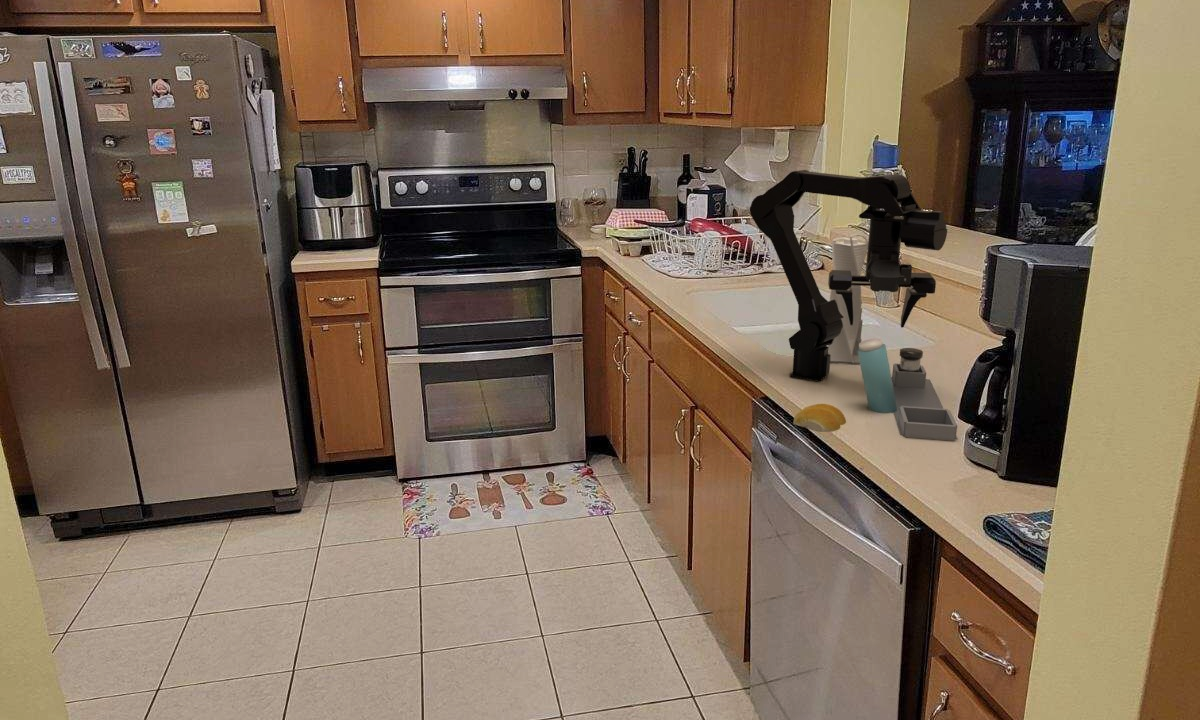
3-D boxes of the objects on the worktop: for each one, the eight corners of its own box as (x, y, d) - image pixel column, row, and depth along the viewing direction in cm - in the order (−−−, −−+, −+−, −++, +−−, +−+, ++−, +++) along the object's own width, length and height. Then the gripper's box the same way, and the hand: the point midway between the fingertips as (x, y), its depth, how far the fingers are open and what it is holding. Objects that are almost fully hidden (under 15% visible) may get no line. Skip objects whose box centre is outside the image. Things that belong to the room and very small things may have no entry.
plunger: (894, 381, 162) (897, 352, 161) (899, 375, 166) (902, 346, 164) (917, 385, 160) (920, 355, 159) (921, 378, 164) (924, 349, 162)
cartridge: (866, 416, 150) (853, 348, 147) (872, 405, 154) (860, 339, 150) (893, 414, 147) (881, 345, 144) (899, 404, 151) (887, 336, 148)
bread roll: (850, 424, 146) (852, 403, 145) (832, 441, 139) (834, 418, 138) (805, 414, 151) (807, 394, 150) (785, 430, 144) (787, 408, 143)
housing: (958, 446, 136) (961, 424, 135) (900, 442, 138) (902, 420, 137) (929, 384, 166) (931, 364, 164) (881, 381, 167) (883, 362, 166)
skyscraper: (863, 366, 176) (875, 235, 168) (824, 364, 178) (834, 234, 170) (859, 355, 184) (871, 228, 176) (822, 353, 186) (831, 227, 178)
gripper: (833, 250, 148) (827, 334, 153) (945, 253, 144) (935, 340, 149) (831, 240, 159) (825, 319, 163) (935, 243, 155) (925, 324, 159)
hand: (876, 325), depth 158 cm, fingers open, 9 cm apart
